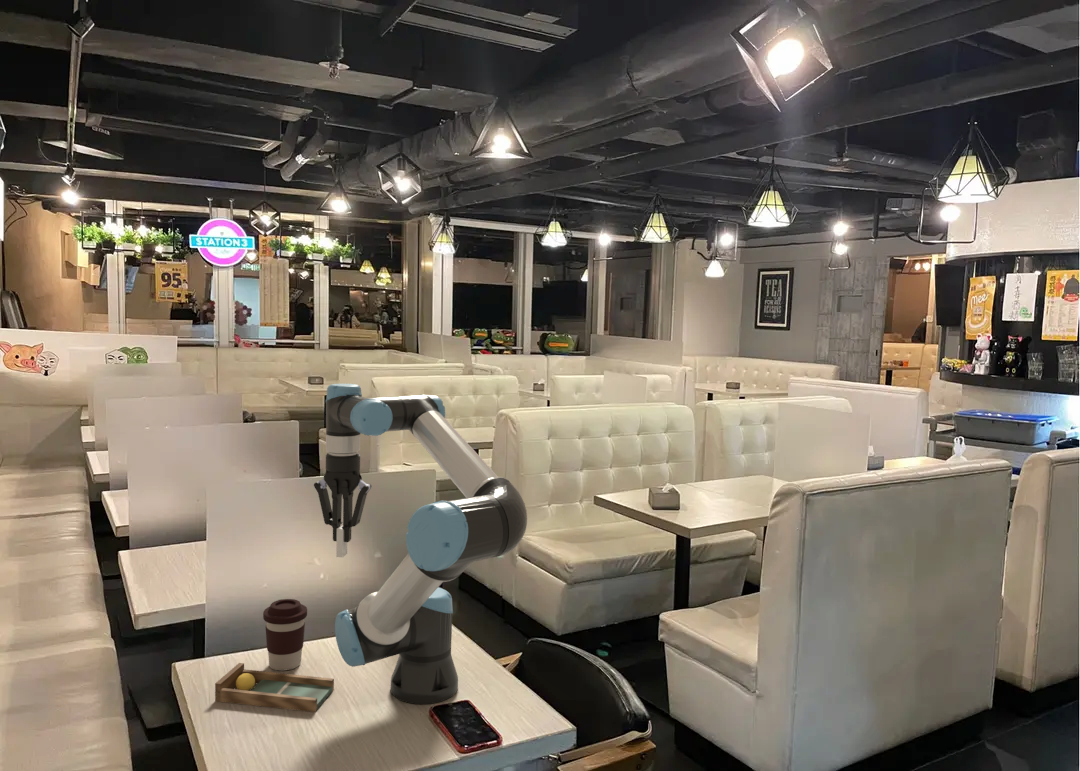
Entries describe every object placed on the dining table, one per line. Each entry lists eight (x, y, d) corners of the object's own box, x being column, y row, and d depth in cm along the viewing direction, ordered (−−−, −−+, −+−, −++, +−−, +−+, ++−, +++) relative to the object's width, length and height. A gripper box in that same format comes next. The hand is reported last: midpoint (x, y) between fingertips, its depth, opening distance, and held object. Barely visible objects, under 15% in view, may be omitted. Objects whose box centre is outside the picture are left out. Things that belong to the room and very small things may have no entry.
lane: (333, 689, 176) (333, 672, 176) (315, 712, 166) (315, 694, 166) (239, 679, 179) (239, 662, 179) (215, 701, 169) (215, 683, 169)
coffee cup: (275, 653, 193) (275, 594, 192) (313, 657, 192) (314, 598, 190) (255, 671, 183) (255, 609, 182) (295, 676, 182) (296, 613, 181)
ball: (256, 668, 176) (240, 671, 176) (246, 676, 172) (230, 679, 172) (260, 685, 176) (244, 688, 176) (251, 694, 172) (234, 696, 172)
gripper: (376, 451, 179) (375, 552, 181) (322, 448, 181) (321, 548, 183) (365, 457, 171) (363, 562, 174) (308, 453, 173) (307, 558, 176)
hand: (341, 555), depth 178 cm, fingers closed
